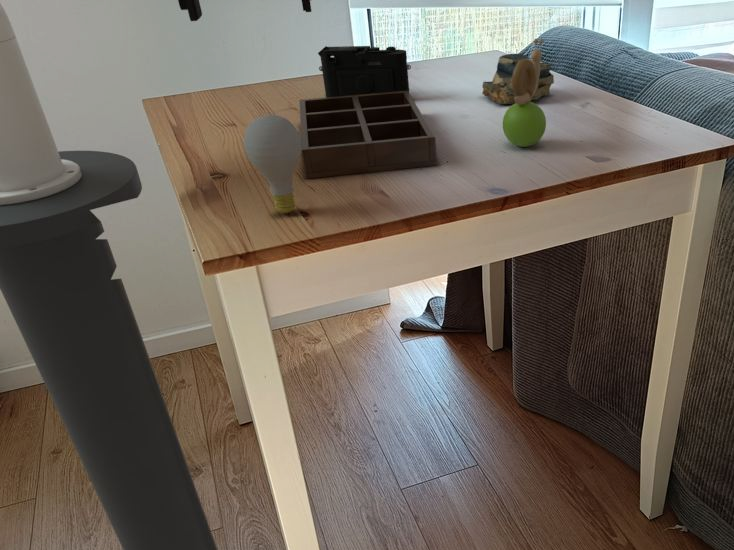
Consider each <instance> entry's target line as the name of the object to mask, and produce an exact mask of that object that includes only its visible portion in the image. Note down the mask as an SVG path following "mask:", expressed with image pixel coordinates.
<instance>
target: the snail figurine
mask: <svg viewBox="0 0 734 550" xmlns="http://www.w3.org/2000/svg"><path fill="white" fill-rule="evenodd" d="M533 43H534V44H535V45H537V44H539V45H540V49H538V48H537V46H535V48H534V50H532V52H531V54H530V58H531V59H532V62H531V61H530V60H529V59H522V60H520V61H519V62H518V63H517V65H516V66H515V68H514V71H513V75H512V89H513V92H514V93H515V95H516V97H515V98H514V100H515V102H516V103H512V105H510V106H509V108H508V109H507V110H506V111H505V113H504V115H503V118H502V130H503V133H504V136H505V137H506V139H507V140H508V141H509V142H510V144H513V145H515V146H517V147H521V148H522V147H523V148H525V147H527V148H528V147H530V146H533V145H536V143H538V142H539V141H540V140H541V139H542V138H543V136H544V134H545V131H546V128H547V118H546V115H545V113H544V111H543V109H542V108H541V107H540V106H539V105H538V104H537V103H535V102H533V101H532V100H531V99H532V97H533V96H534V94H535V92H536V90H537V85H538V81H539V75H540V61H542V58H543V56H542V55H543V54H542V44H543V43H544V40H543V39H542V38H540V39H538V38H534V39H533Z"/></svg>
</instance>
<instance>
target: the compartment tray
mask: <svg viewBox="0 0 734 550" xmlns="http://www.w3.org/2000/svg"><path fill="white" fill-rule="evenodd" d="M298 102H299V121H300V123H299V124H300V139H301V144H302V148H301V155H302V159H303V166H304V171H305V177H306V179H316V178H327V177H337V176H347V175H356V174H365V173H366V174H367V173H375V172H385V171H395V170H406V169H413V168H414V169H415V168H424V167H435V166H438V164H437V146H436V145H437V144H436V137H435V135H434V133H433V131H432V129H431V128H430V126H429V125H428V123H427V120H426V119H425V118H424V116H423V114H422V112H421V110H420V109H419V107H418V106H417V104H416V102H415V99H414V98H413V97H412V95H411V93H410V91H409V92H408V91H397V92H385V93H374V94H362V95H352V96H351V95H349V96H338V97H326V96H325V97H317V98H316V97H315V98H305V99H299V100H298Z"/></svg>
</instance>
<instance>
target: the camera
mask: <svg viewBox="0 0 734 550" xmlns="http://www.w3.org/2000/svg"><path fill="white" fill-rule="evenodd" d="M317 55H318V56H319V57H320V63H321V65H319V66H318V70H319V71H320V72H322V78H323V79H322V80H323V86H324V92H325V98H326V97H338V96H349V95H351V96H352V95H362V94H374V93H385V92H397V91H408V92H409V93H410V84H409V70H411V69H412V66H411V65H410V64H408V60H407V59H408V57H407V56H408V55H407V50H405V49H397V48H396V47H395V46H388V47H386V48H385V49H380V47H379V46H372V47H371V45H348V46H327V45H325V46H324V47H323V48H322V49H321V50H320V51H318V53H317Z"/></svg>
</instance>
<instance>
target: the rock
mask: <svg viewBox="0 0 734 550" xmlns="http://www.w3.org/2000/svg"><path fill="white" fill-rule="evenodd" d="M522 59H529V60H530V61H531V62H532V59H531V57H529V56H527V55H525V54H523V53H508V54H503V55H501V56H499V58H498V60H497V61H498V62H497V65H496V71H495V73H494V75H493V78H492V80H491V81H483V82H482V85H481V86H482V92H481V95H483V96H484V97H487V98H488V99H490V100H492V101H493V102H495V103H497V104H500V105H511V104H515V103H516V102H515V100H514V98H515V97H516V95H515V93H514V92H513V89H512V75H513V71H514V68H515V66H516V65H517V63H518V62H519V61H520V60H522ZM551 70H552V65H551V64H550V62H548V61H543V60H541V61H540V75H539V81H538V85H537V90H536V92H535V94H534V96H533V97H532V99H531V100H530V101H533V100H535V101H536V100H537V101H539V100H540V99H541V97H544V96H548V95H550V93H551V92H550V89H551V86H552V85H553V84H554V83H555V78H554V74H553V73H551V72H550V71H551Z"/></svg>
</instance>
